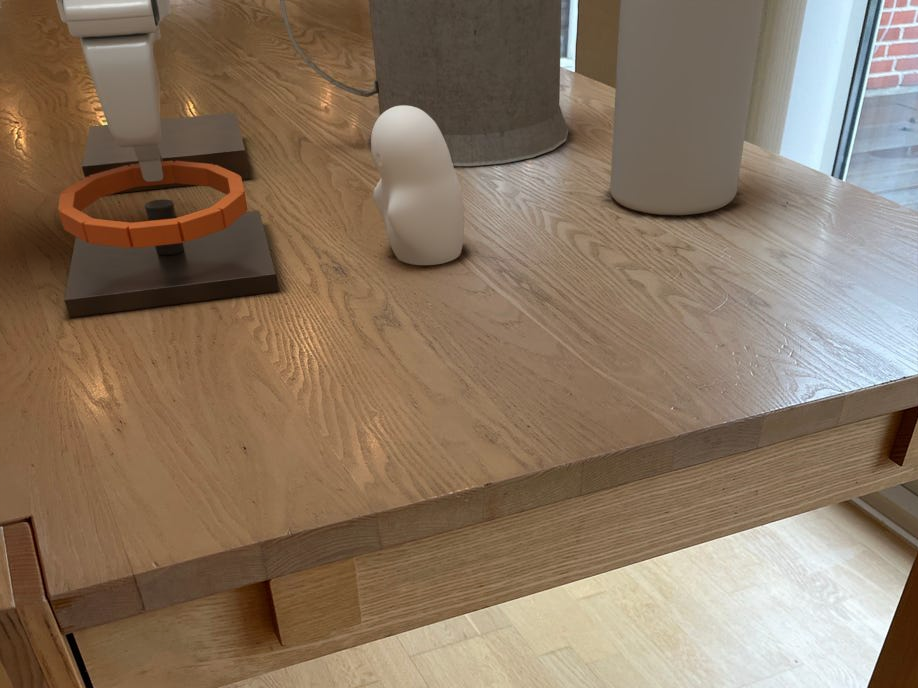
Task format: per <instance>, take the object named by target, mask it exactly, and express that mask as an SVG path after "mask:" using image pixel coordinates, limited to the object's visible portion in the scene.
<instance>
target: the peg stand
mask: <svg viewBox="0 0 918 688" xmlns="http://www.w3.org/2000/svg"><path fill="white" fill-rule="evenodd" d="M144 208H145V212H146V216H147V221H154V220H164V219H174V218H178V216H177V212H176V208H175V203H174V201H172V200H171V199H165V198H164V199H155V200H150V201H148V202H146V203H145V205H144ZM66 283H67V284H66V288H65V293H64V299H63V301H64V304H65V307H66V310H67V313H68V316H69V318H78V317H79V318H80V317H87V316H94V315H103V314H109V313H111V314H112V313H118V312H125V311H133V310H134V311H135V310H140V309H141V310H142V309H149V308H156V307H164V306H165V307H166V306H172V305H181V304H188V303H198V302H205V301H211V300H212V301H213V300H220V299H221V300H222V299H228V298H235V297H243V296H251V295H259V294H268V293H276V292H279V285H278V280H277V274H276V270H275V266H274V262H273V259H272V254H271V250H270V246H269V243H268V239H267V234H266V231H265V227H264V223H263V219H262V215H261V211H260V210H252V211H247V212H245V213H244V214H243V215H242V216H241V217H240V218H238V219H237V220H236V221H235V222H234V223H233V224H231V225H230V226H229V227H228V228H224V230H221V231H218V232H215V233H212V234H209V235H206V236H203V237H200V238H197V239H194V240H191V241H188V242H184V241H182V243H178V244H169V245H159V246H150V247H140V248H134V246H133V247H131V248H124V247H116V246H107V245H99V244H90V243H89V242H88V243H86V242H85V241H83V240H81V239H79V238H78V237H76V236H75V240H74V246H73V250H72V255H71V262H70V266H69V273H68V277H67V282H66Z"/></svg>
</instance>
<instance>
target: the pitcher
mask: <svg viewBox="0 0 918 688" xmlns="http://www.w3.org/2000/svg"><path fill="white" fill-rule="evenodd" d="M279 1H280V8H281V13H282V18H283V21H284V25H285V29H286V32H287V35H288V37H289V40H290V42H291V44H292V45H293V48H294V49H295V50H296V52H297V53H298V55H299V56H300V57H301V58H302V60H303V61H304V62H305V63H306V64H307V65H308V66H309V67H310V68H311V69H312V70H313V71H314V72H315V73H317V74H318V75H319V76H320V77H321V78H323V79H324V80H326V81H327V82H328V83H330V84H331V85H333V86H335V87H337V88H339V89H341V90H343V91H345V92H347V93H350V94H353V95H356V96H359V97H366V98H369V97H371V96H374V95H376V94H377V101H378V102H377V103H378V110H379V111H378V112H379V114H378V118H379V117H380V115H381V114H382V113H384V112H385V111H386V110H388V109H390V108H392V107H395V106H401V105H406V106H413V107H416V108H419V109H421V110H422V111H424V112H425V113H426V114H427V115H429V116H430V117H431V118H432V119H433V120H434V122H435V123H436V124H437V126H438V128H439V129H440V131H441V133H442V136H443V138H444V140H445V142H446V144H447V147H448V150H449V153H450V156H451V160H452V163H453V167H482V166H492V165H501V164H502V165H503V164H509V163H512V162H513V163H514V162H518V161H523V160H528V159H532V158H535V157H538V156H541V155H543V154H547V153H549V152H552V151H555V150H556V149H557V148H559V147H560V146H561V145H563V144H564V143H565V142H566V141H567V139H568V133H569V129H568V127H567V124H566V120H565V118H564V115H563V114H564V113H563V111H562V109H561V106H560V101H561V100H560V99H561V98H560V97H561V96H560V93H561V47H562V45H561V43H562V3H563V2H562V1H563V0H368V3H369V4H368V5H369V17H370V27H371V38H372V48H373V58H374V59H373V60H374V68H375V79H373V88H371V89H370V90H361V89H357V88H354V87H352V86H349V85H347V84H344V83H343V82H341V81H339V80H337V79H334V78H333V77H331V76H330V75H329V74H327V73H325V71H323V70H322V69H321V68H320V67H318V66H317V65H316V64H315V63H314V62H313V61H312V60H311V59H310V57H308V56H307V55H306V53H305V52H304V51H303V50H302V48H301V47H300V45H299V44H298V42H297V41H296V39H295V37H294V34H293V32H292V29H291V26H290V21H289V18H288V13H287V9H286V3H285V0H279Z"/></svg>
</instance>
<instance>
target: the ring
mask: <svg viewBox="0 0 918 688" xmlns="http://www.w3.org/2000/svg"><path fill="white" fill-rule="evenodd" d="M161 164H162V169H163V179H162V180H161V181H155V182H147V181H145V180H144V179H143V177H142V172H141V168H140V164H130V166H128V165H125V166H122V167H118V168H114V169H111V170H107V171H104V172H100V173H96V174H93V175H89V177H85V176H84V177H83V178H81V179H80V180H78V181H77V182H75V183H73V184H72V185H70V186H68V187H66V189H64V190H62V192H60V194H59V201H58V206H57V211H58V215H59V217H60V221H61V224H62V227H63V230H64V231H66V232H67V233H69V234H71V235H72V236H74V237H75V238H76V237H78V238H79V239H81V240H83V241H85V242H86V243H88V242H89V243H90V244H99V245H107V246H116V247H124V248H131V247H133V246H134V248H140V247H150V246H159V245H169V244H178V243H182V241H184V242H188V241H191V240H194V239H197V238H200V237H203V236H206V235H209V234H212V233H215V232H218V231H221V230H224V228H228V227H229V226H230V225H231V224H233V223H234V222H235V221H236V220H237V219H238V218H240V217H241V216H242V215H243V214H244V213H245V212H248V206H247V205H248V204H247V198H246V192H245V188H244V187H245V186H244V184H243V183H244V182H243V180H242V178H241V176H240V175H238V174H236V173H234V172H231V171H229V170H227V169H225V168H222V167H220V166H218V165H213V164H206V163H196V162H185V161H175V162H173V161H162V162H161ZM172 183H179V184H189V185H191V186H200V187H209V188H211V189H213V190H215V191H218V192H221V193H222V194H224V195H225V196H224V197H222V198H221V199H220V200H218V201H217V202H216V203H214V204H213V205H212V206H210V207H207V208H204V209H200V210H197V211H195V212H191V213H188V214H185V215H181V216H177V218H174V219H164V220H154V221H148V220H145V221H135V222H129V221H118V220H110V219H102V218H93V217H92V216H90V215H88V214H86V213H84V212H83V210H84V209H86V208H88V207H89V206H90V205H92V204H94V203H96V202H97V201H98V200H100V199H101V198H103V197H106V196H109V195H114V194H113V193H116V194H118V193H117V192H120V191H124V190H127V189H131V188H134V187H140V186H151V185H162V184H172Z"/></svg>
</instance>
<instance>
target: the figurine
mask: <svg viewBox="0 0 918 688" xmlns="http://www.w3.org/2000/svg"><path fill="white" fill-rule="evenodd" d="M370 151H371V157H372V160H373V163H374V165H375V167H376V169H377V171H378V174H379V175H380V178H379V181H378V182H377V184H376V185H375V188H374V189H373V201H374V203H375V206H376V208H377V210H378V212H379V214H380V215H381V217H382V219H383V221H384V223H385V229H386V235H387V239H388V242H389V245H390V248H391V250H392V252H393V254H394V255H395V257H396V259H397V260H398V261H400V262H403V263H405V264H409V265H414V266H435V265H440V264H446V263H448V262H449V263H450V262H451V261H454V260H456V259H457V258H458V257H460V256H461V254H462V250H463V244H464V235H465V233H464V232H465V208H464V200H463V194H462V188H461V185H460V181H459V179H458V178H459V177H458V175H457V173H456V169H455V168H454V167H455V166H453V163H452V160H451V156H450V153H449V150H448V147H447V144H446V142H445V140H444V138H443V136H442V133H441V131H440V129H439V128H438V126H437V124H436V123H435V122H434V120H433V119H432V118H431V117H430V116H429V115H427V114H426V113H425V112H424V111H422V110H421V109H419V108H416V107H413V106H406V105H401V106H395V107H392V108H390V109H388V110H386V111H385V112H384V113H382V114H381V115H380V117H379V116H378V117H377V119H376V121H375V123H374V125H373V127H372V132H371V137H370Z"/></svg>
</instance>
